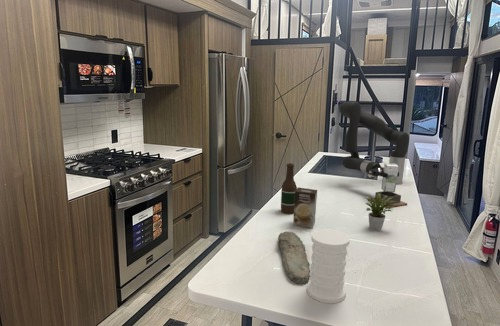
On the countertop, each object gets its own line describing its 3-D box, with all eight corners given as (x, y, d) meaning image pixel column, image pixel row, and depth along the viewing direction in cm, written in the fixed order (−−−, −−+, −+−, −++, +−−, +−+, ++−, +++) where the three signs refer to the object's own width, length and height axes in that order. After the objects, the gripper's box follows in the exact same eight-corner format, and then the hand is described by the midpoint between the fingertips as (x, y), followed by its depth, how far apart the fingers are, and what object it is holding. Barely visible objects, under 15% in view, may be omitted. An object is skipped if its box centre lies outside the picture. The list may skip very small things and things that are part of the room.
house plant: (374, 238, 146) (378, 200, 143) (350, 226, 158) (354, 191, 155) (398, 232, 153) (403, 196, 149) (374, 221, 165) (377, 187, 161)
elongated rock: (283, 288, 112) (315, 290, 112) (285, 273, 110) (317, 275, 111) (274, 236, 145) (298, 237, 146) (276, 224, 144) (300, 225, 144)
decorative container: (316, 277, 116) (320, 225, 112) (351, 289, 109) (356, 235, 105) (300, 293, 106) (303, 237, 103) (336, 308, 100) (341, 249, 96)
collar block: (367, 201, 195) (368, 191, 194) (387, 198, 200) (388, 188, 199) (386, 209, 182) (387, 199, 181) (407, 206, 188) (408, 196, 187)
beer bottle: (298, 210, 177) (300, 163, 171) (293, 215, 170) (295, 166, 164) (283, 207, 180) (285, 161, 174) (277, 212, 173) (279, 164, 168)
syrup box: (391, 189, 192) (395, 163, 189) (395, 192, 187) (398, 165, 183) (381, 188, 193) (384, 162, 190) (384, 192, 187) (387, 165, 184)
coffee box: (292, 225, 157) (294, 191, 154) (295, 220, 163) (297, 187, 160) (313, 228, 154) (315, 193, 151) (315, 223, 160) (317, 189, 157)
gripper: (361, 162, 197) (383, 169, 182) (380, 160, 203) (404, 167, 188) (360, 175, 198) (382, 183, 184) (379, 173, 204) (402, 181, 190)
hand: (393, 175), depth 186 cm, fingers closed on syrup box, 7 cm apart
